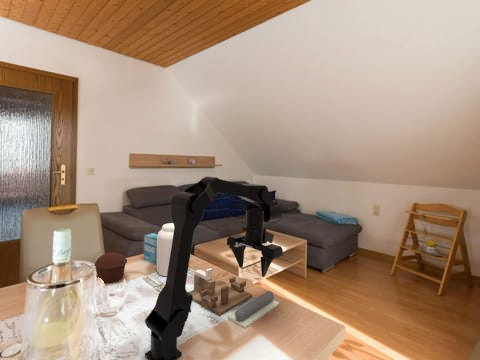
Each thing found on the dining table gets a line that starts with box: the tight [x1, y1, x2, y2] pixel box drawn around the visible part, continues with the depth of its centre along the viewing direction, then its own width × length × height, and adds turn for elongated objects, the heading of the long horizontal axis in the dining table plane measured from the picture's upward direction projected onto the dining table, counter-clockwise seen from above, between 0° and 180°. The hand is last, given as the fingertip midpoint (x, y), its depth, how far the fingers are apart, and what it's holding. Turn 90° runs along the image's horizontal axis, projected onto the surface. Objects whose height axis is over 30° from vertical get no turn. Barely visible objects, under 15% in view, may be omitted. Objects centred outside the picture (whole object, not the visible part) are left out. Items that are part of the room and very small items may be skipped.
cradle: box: [187, 274, 253, 317], centre depth 93 cm, size 17×16×6 cm
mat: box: [227, 299, 280, 329], centre depth 86 cm, size 7×18×1 cm, turn 139°
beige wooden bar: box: [194, 267, 213, 280], centre depth 94 cm, size 7×2×3 cm, turn 49°
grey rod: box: [234, 290, 275, 320], centre depth 85 cm, size 3×18×3 cm, turn 139°
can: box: [156, 222, 174, 277], centre depth 113 cm, size 12×12×20 cm
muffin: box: [94, 251, 128, 285], centre depth 104 cm, size 12×11×10 cm
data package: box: [143, 232, 158, 265], centre depth 123 cm, size 12×4×12 cm, turn 58°
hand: (252, 271), depth 85 cm, fingers open, 9 cm apart
